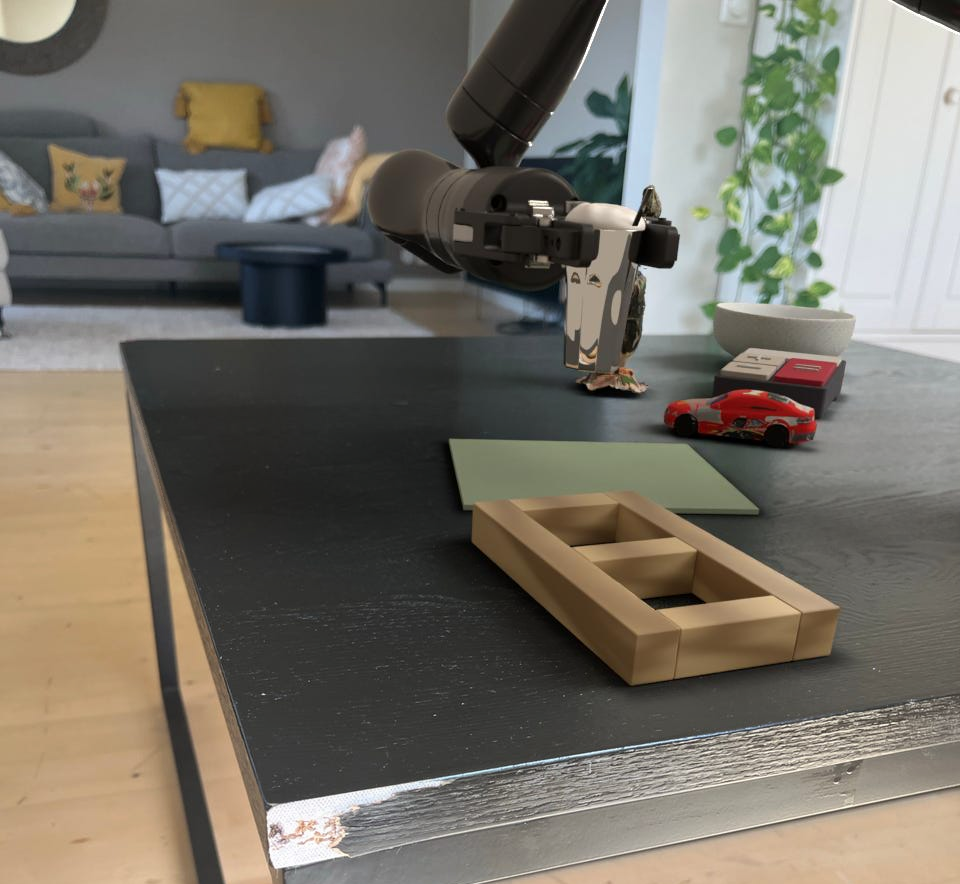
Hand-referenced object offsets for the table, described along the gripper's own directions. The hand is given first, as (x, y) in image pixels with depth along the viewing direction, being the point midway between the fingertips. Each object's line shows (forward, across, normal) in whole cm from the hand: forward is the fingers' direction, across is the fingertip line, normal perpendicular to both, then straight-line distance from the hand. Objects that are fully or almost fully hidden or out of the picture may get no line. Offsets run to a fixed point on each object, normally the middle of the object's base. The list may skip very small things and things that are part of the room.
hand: (629, 247), depth 54 cm
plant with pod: (-44, +25, +17) cm, 53 cm away
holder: (+9, -3, +17) cm, 19 cm away
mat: (-13, +6, +17) cm, 22 cm away
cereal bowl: (-52, +52, +18) cm, 76 cm away
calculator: (-35, +40, +17) cm, 56 cm away
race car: (-21, +25, +17) cm, 37 cm away
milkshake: (-3, 0, +7) cm, 8 cm away
